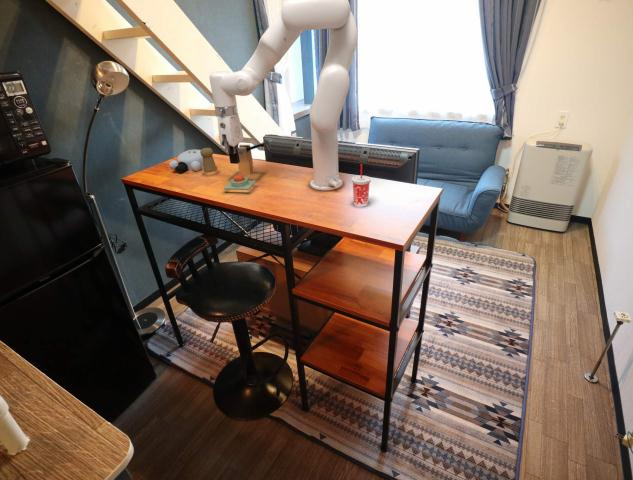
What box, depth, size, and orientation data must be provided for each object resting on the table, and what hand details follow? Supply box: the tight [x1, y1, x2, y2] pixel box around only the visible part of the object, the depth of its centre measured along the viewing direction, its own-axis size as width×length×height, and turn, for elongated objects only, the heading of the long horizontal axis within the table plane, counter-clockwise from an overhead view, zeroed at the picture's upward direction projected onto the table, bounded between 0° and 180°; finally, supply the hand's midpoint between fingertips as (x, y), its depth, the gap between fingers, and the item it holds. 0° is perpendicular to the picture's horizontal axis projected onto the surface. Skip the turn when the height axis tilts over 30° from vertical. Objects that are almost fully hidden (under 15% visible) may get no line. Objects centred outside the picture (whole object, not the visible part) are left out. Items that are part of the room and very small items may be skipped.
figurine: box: [168, 149, 204, 175], centre depth 156 cm, size 17×8×20 cm
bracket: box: [237, 144, 255, 176], centre depth 142 cm, size 12×9×13 cm
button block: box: [223, 176, 257, 195], centre depth 132 cm, size 10×8×4 cm
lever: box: [245, 139, 269, 153], centre depth 139 cm, size 12×5×2 cm, turn 77°
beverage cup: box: [351, 163, 371, 208], centre depth 112 cm, size 6×6×14 cm
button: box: [233, 174, 245, 182], centre depth 131 cm, size 4×4×2 cm
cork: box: [200, 147, 218, 173], centre depth 149 cm, size 6×6×11 cm
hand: (235, 162), depth 128 cm, fingers closed
